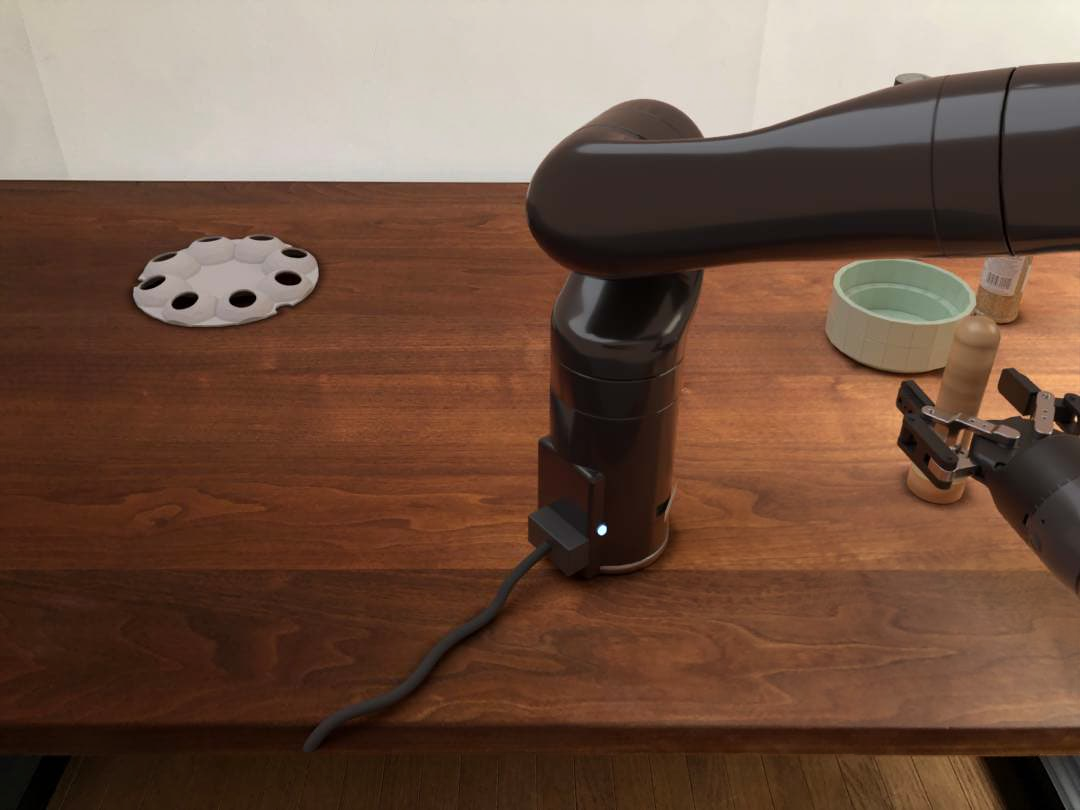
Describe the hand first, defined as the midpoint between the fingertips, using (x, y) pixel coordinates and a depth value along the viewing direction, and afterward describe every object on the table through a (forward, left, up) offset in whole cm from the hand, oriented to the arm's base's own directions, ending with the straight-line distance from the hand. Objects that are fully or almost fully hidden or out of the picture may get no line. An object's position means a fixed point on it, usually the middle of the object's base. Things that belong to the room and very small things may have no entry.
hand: (953, 383), depth 82 cm
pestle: (0, -1, -10) cm, 10 cm away
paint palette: (-31, +67, -10) cm, 75 cm away
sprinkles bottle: (+29, +12, -10) cm, 33 cm away
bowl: (+16, +15, -10) cm, 24 cm away
